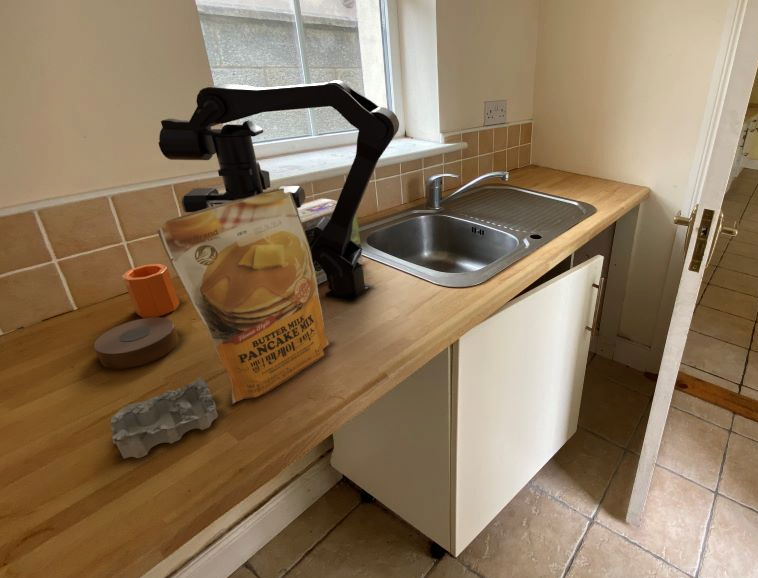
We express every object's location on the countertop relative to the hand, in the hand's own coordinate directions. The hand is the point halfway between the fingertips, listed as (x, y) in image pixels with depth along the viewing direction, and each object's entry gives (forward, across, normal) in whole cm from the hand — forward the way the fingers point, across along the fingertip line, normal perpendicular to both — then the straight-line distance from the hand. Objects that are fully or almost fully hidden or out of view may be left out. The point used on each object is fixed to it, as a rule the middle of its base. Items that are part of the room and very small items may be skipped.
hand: (256, 241), depth 86 cm
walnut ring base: (+12, +16, +15) cm, 25 cm away
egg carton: (+12, +4, +34) cm, 37 cm away
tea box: (+12, -9, -8) cm, 17 cm away
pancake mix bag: (+12, -8, +25) cm, 29 cm away
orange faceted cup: (+12, +18, +2) cm, 22 cm away
